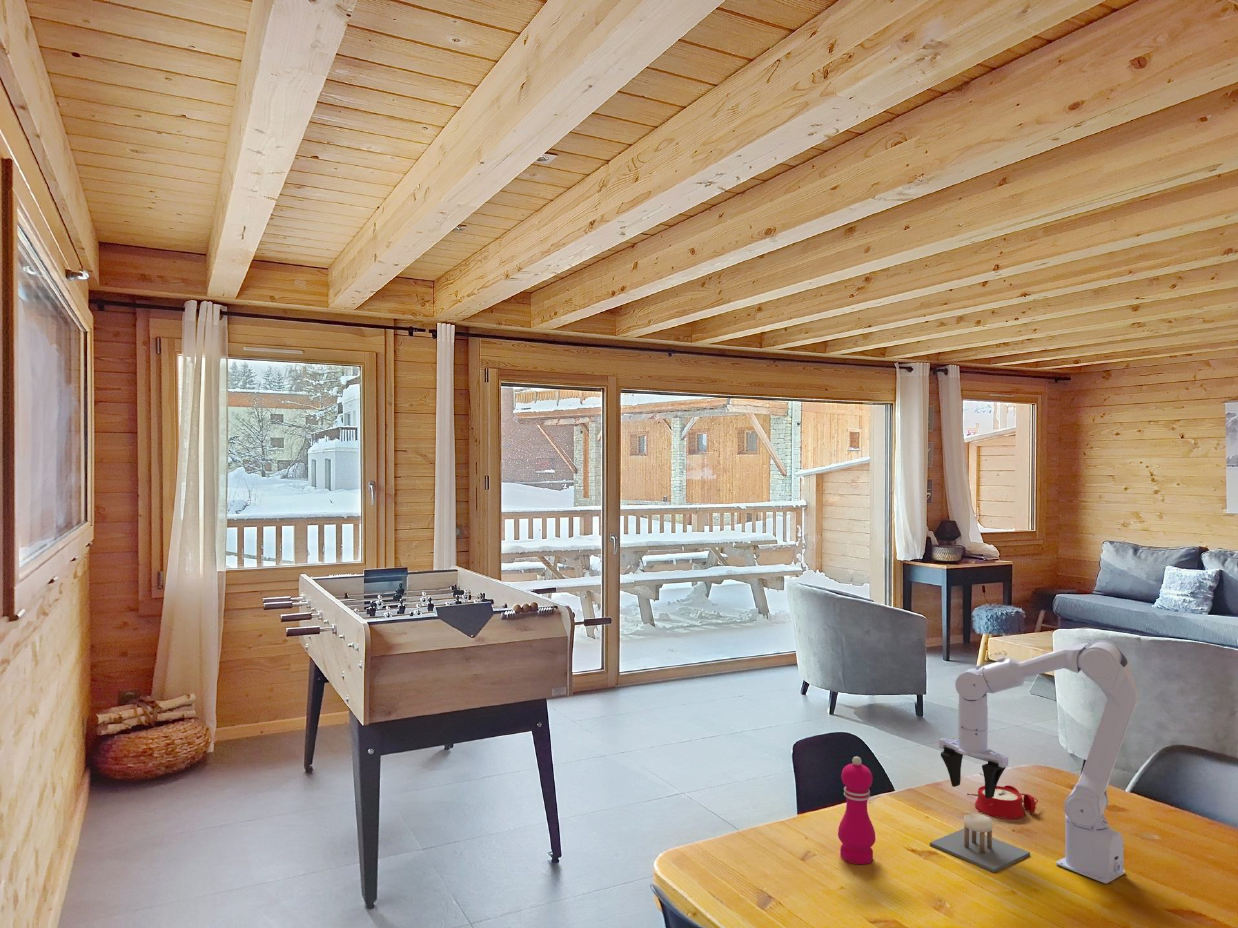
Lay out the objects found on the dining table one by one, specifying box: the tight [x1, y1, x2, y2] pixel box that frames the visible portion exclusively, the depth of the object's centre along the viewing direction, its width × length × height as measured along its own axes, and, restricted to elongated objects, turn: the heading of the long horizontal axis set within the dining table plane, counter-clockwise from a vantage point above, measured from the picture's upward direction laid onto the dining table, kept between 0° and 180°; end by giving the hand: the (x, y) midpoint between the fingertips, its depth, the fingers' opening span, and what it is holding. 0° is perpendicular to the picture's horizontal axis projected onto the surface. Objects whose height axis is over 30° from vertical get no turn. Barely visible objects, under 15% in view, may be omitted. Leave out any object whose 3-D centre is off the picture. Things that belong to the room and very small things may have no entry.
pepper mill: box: [837, 756, 876, 865], centre depth 163 cm, size 7×7×20 cm
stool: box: [963, 813, 993, 854], centre depth 166 cm, size 5×5×6 cm
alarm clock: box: [966, 784, 1039, 819], centre depth 187 cm, size 10×6×15 cm
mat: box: [929, 828, 1031, 873], centre depth 166 cm, size 14×13×1 cm
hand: (972, 791), depth 172 cm, fingers open, 7 cm apart
